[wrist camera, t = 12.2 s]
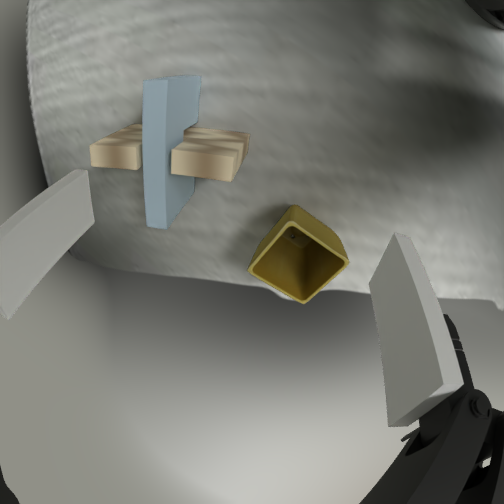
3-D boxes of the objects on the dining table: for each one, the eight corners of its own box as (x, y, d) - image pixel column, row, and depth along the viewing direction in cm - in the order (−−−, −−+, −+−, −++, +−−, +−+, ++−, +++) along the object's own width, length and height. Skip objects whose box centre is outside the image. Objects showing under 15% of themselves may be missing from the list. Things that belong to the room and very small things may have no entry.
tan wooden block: (133, 141, 35) (91, 166, 27) (133, 124, 34) (89, 145, 26) (247, 152, 35) (231, 182, 27) (249, 133, 33) (233, 157, 25)
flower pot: (255, 232, 41) (245, 272, 34) (291, 186, 37) (289, 220, 29) (303, 262, 43) (303, 305, 36) (342, 222, 39) (351, 262, 31)
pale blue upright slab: (182, 75, 30) (143, 80, 22) (201, 75, 29) (168, 80, 21) (177, 189, 39) (146, 226, 31) (194, 192, 39) (166, 229, 31)
